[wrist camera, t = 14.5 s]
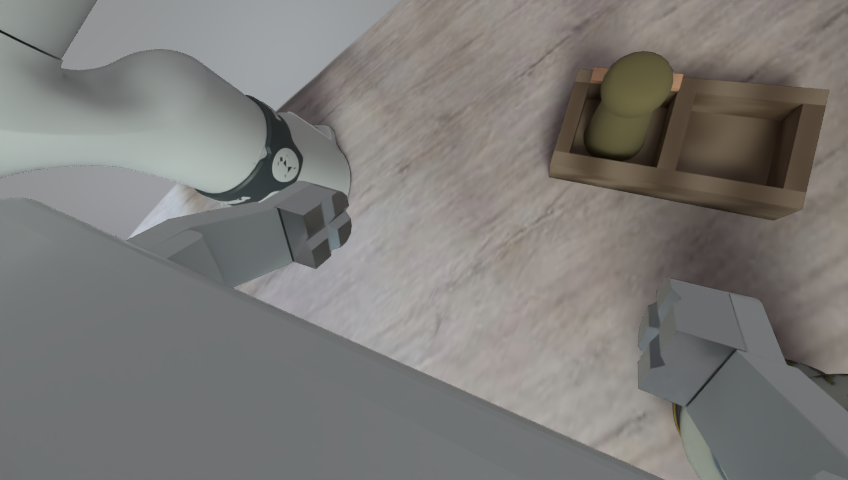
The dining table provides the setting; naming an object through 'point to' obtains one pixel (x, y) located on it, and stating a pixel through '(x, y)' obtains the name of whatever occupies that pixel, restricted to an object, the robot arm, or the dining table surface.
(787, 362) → the apothecary jar
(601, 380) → the dining table surface
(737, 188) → the spice rack
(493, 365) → the dining table surface
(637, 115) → the olive round-topped post
